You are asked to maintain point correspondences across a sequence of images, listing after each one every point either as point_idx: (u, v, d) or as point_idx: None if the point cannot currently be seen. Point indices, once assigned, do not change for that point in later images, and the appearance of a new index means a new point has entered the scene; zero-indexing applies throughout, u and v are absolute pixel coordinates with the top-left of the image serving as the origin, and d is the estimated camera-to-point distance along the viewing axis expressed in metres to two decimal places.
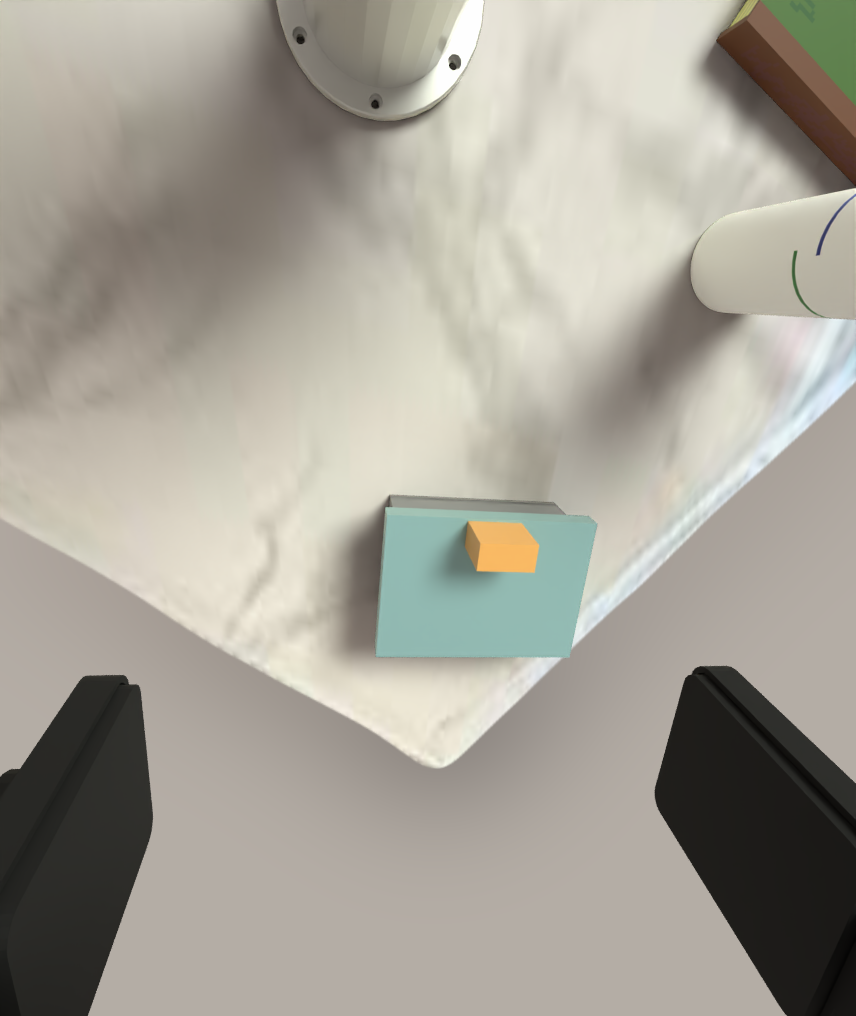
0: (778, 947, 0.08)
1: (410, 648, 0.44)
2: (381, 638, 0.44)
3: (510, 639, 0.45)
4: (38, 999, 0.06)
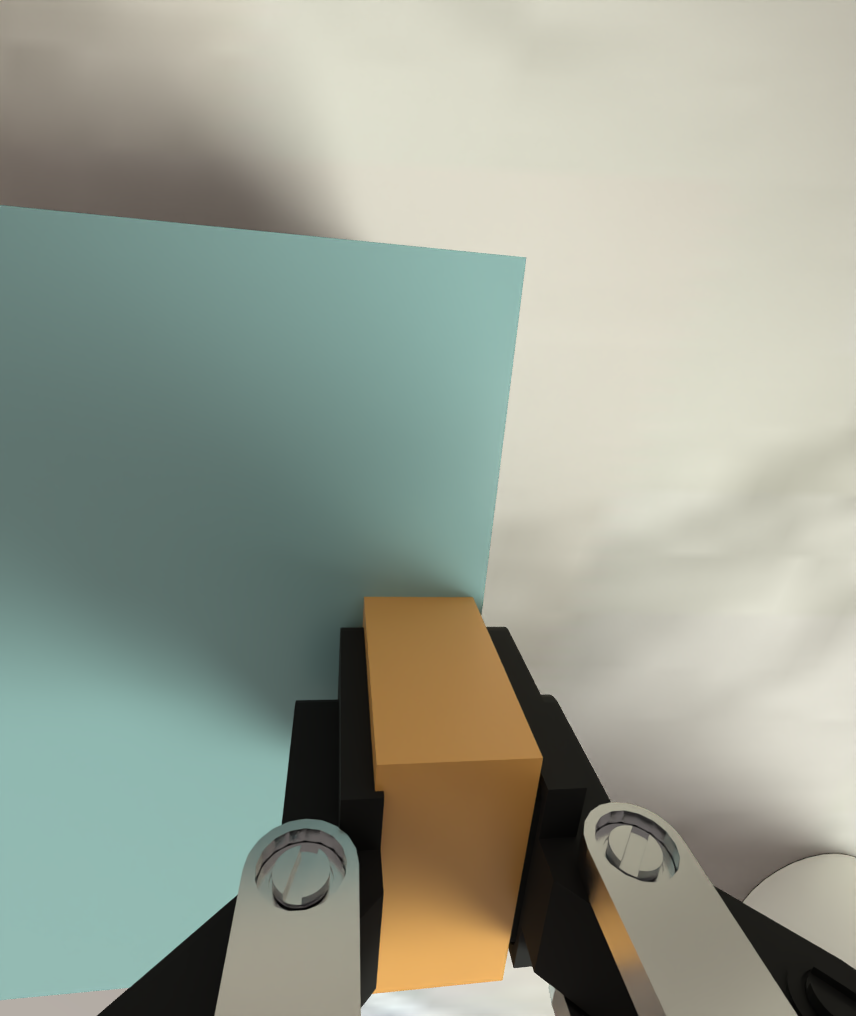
0: None
1: None
2: None
3: None
4: None
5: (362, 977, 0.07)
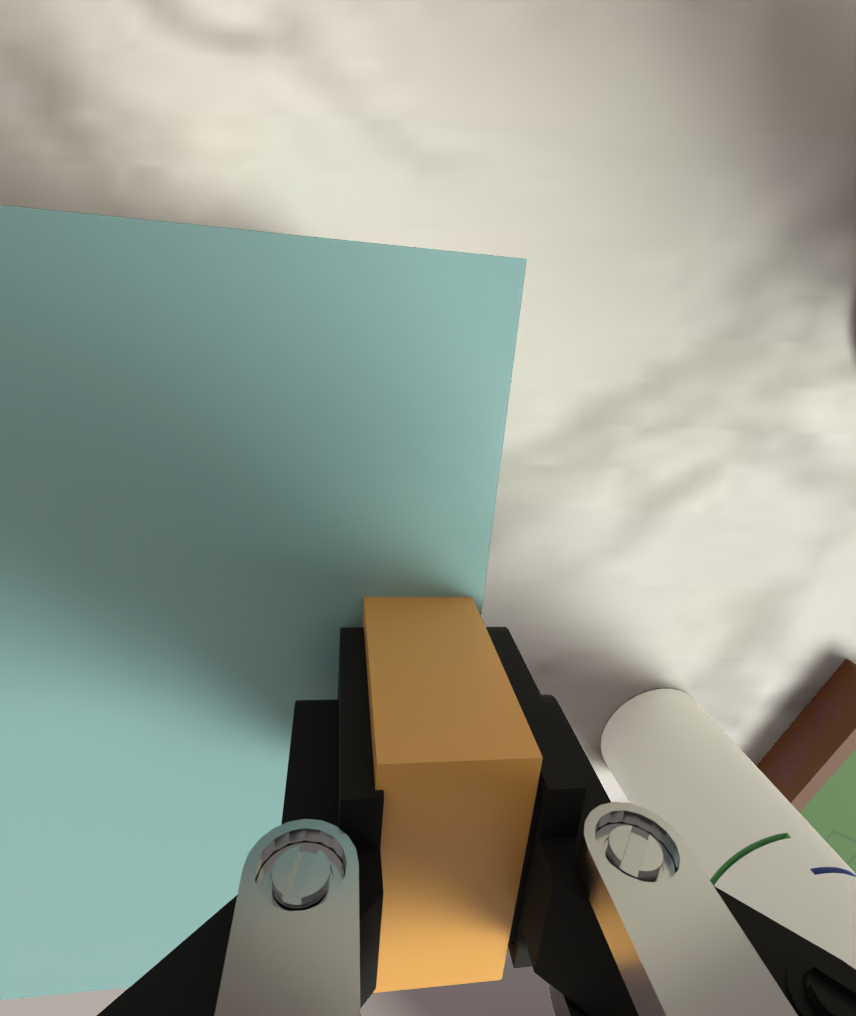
0: None
1: None
2: None
3: None
4: None
5: (362, 977, 0.07)
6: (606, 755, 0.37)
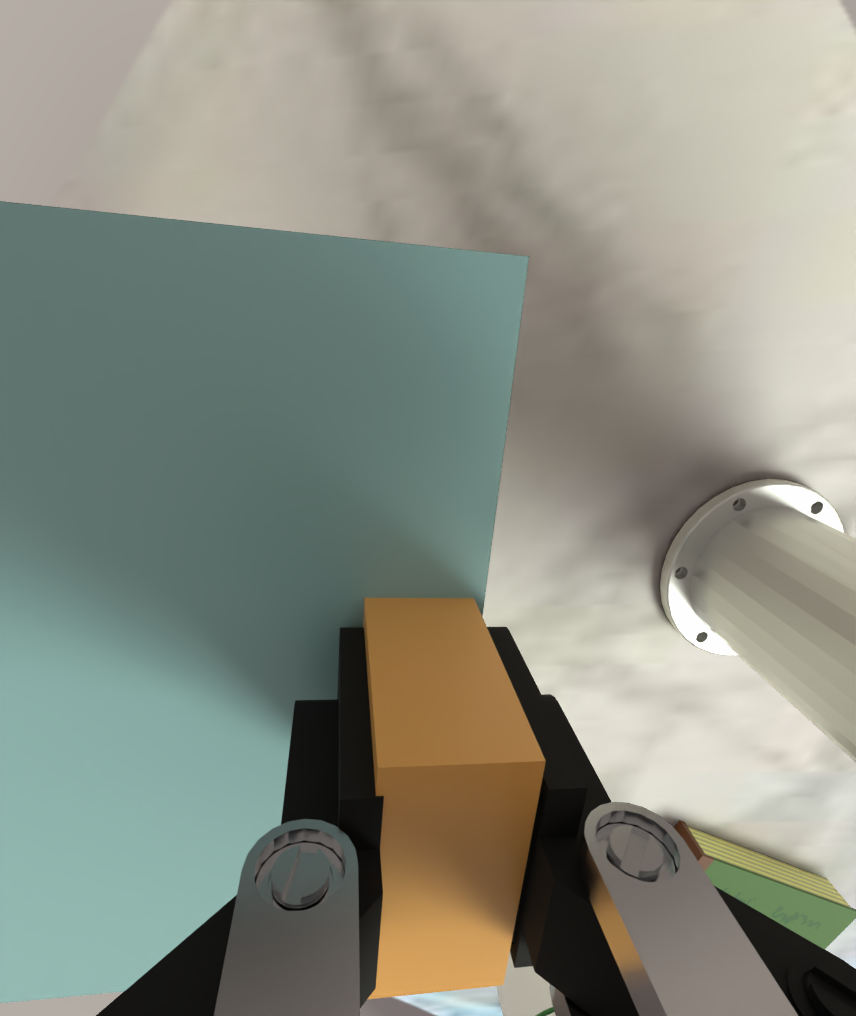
0: None
1: None
2: None
3: None
4: None
5: (361, 977, 0.07)
6: None
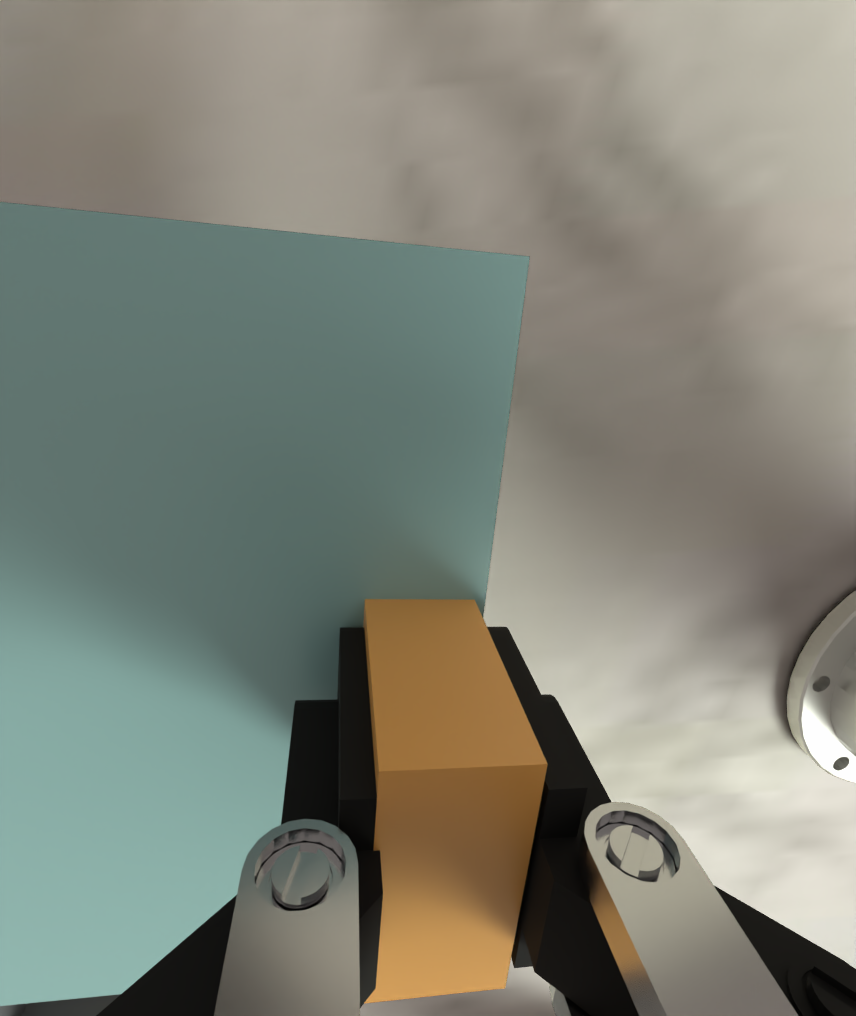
0: None
1: None
2: None
3: None
4: None
5: (361, 977, 0.07)
6: None
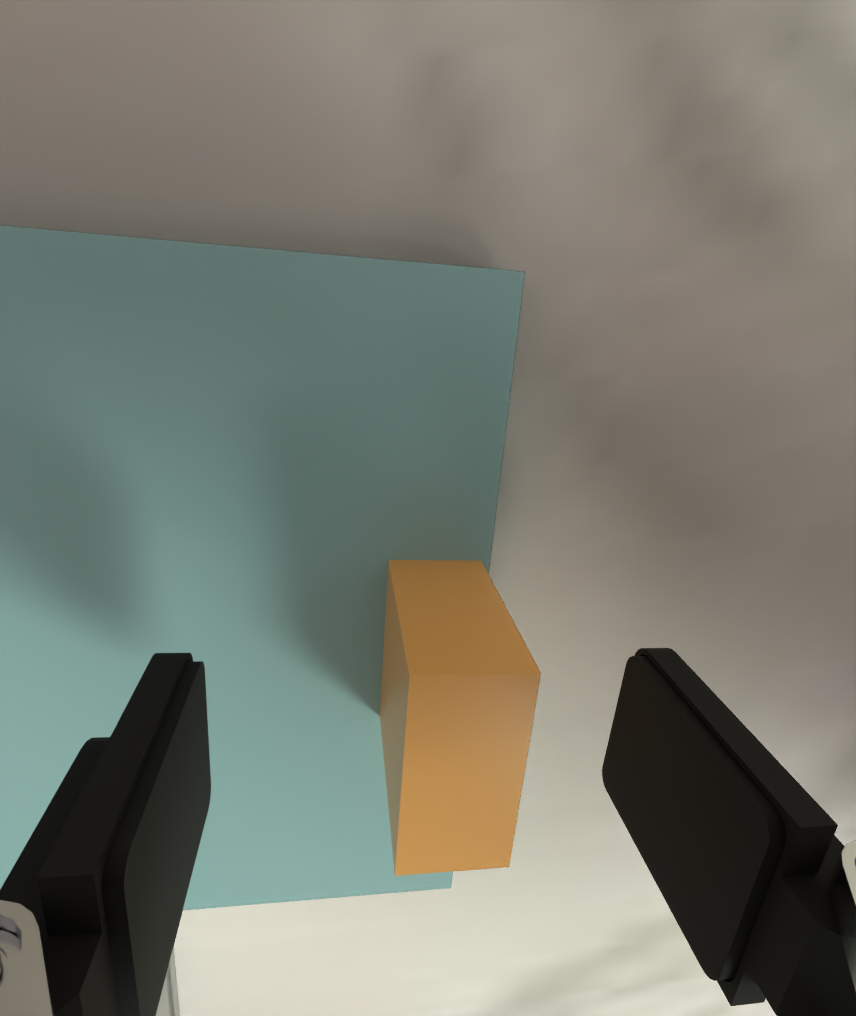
0: (700, 911, 0.08)
1: None
2: None
3: (17, 752, 0.13)
4: (141, 935, 0.06)
5: None
6: None
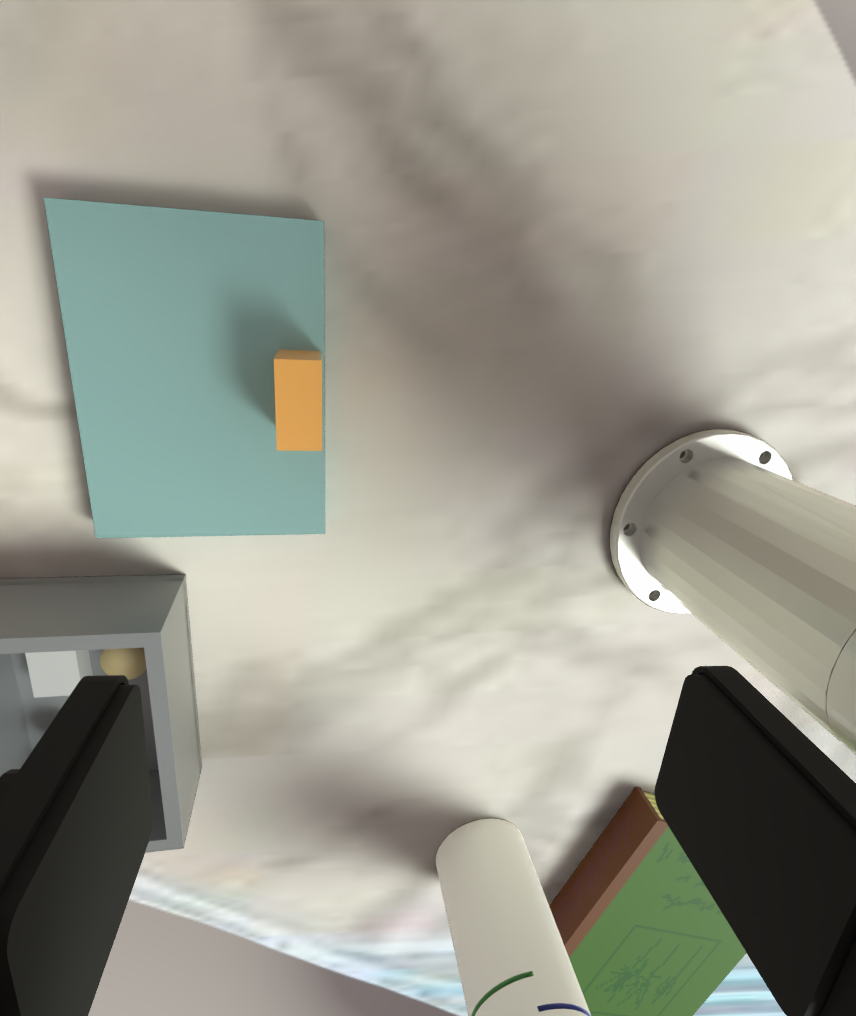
0: (778, 946, 0.08)
1: (73, 265, 0.25)
2: (87, 208, 0.25)
3: (117, 440, 0.28)
4: (38, 999, 0.06)
5: None
6: (438, 874, 0.44)
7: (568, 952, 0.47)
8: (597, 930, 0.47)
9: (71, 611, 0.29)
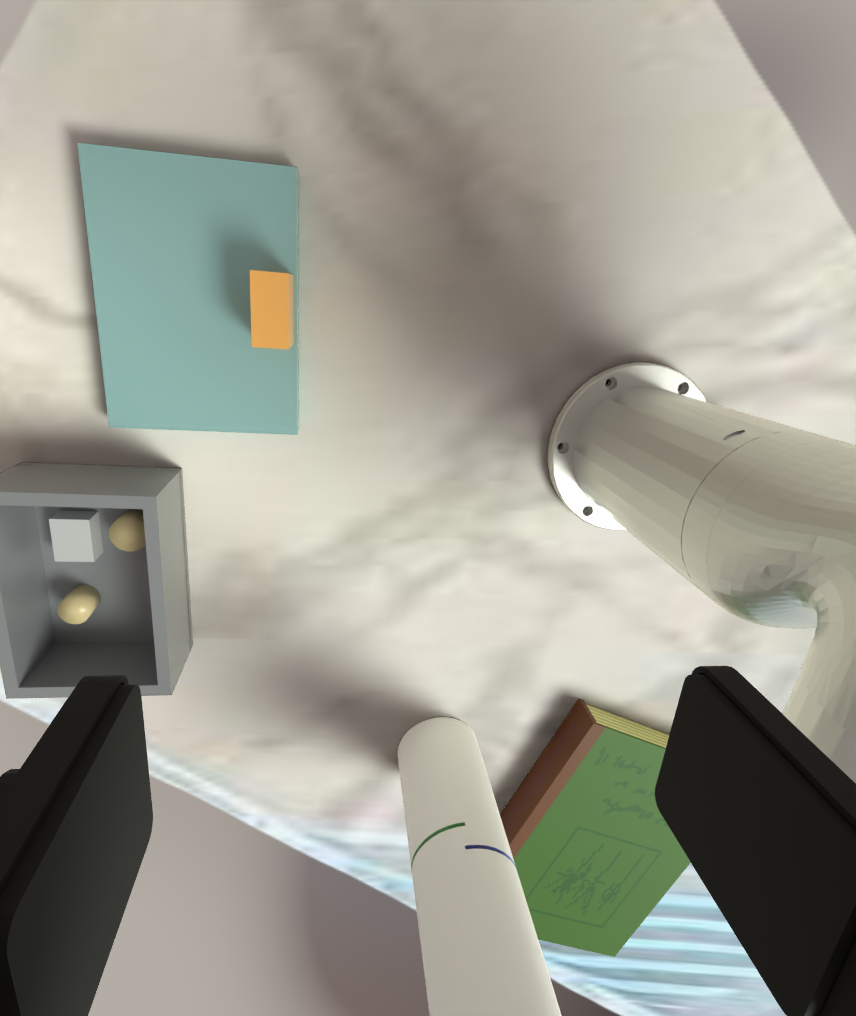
0: (777, 947, 0.08)
1: (97, 197, 0.32)
2: (110, 152, 0.32)
3: (128, 344, 0.35)
4: (38, 999, 0.06)
5: None
6: None
7: (516, 848, 0.52)
8: (542, 829, 0.52)
9: (87, 482, 0.35)
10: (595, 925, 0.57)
